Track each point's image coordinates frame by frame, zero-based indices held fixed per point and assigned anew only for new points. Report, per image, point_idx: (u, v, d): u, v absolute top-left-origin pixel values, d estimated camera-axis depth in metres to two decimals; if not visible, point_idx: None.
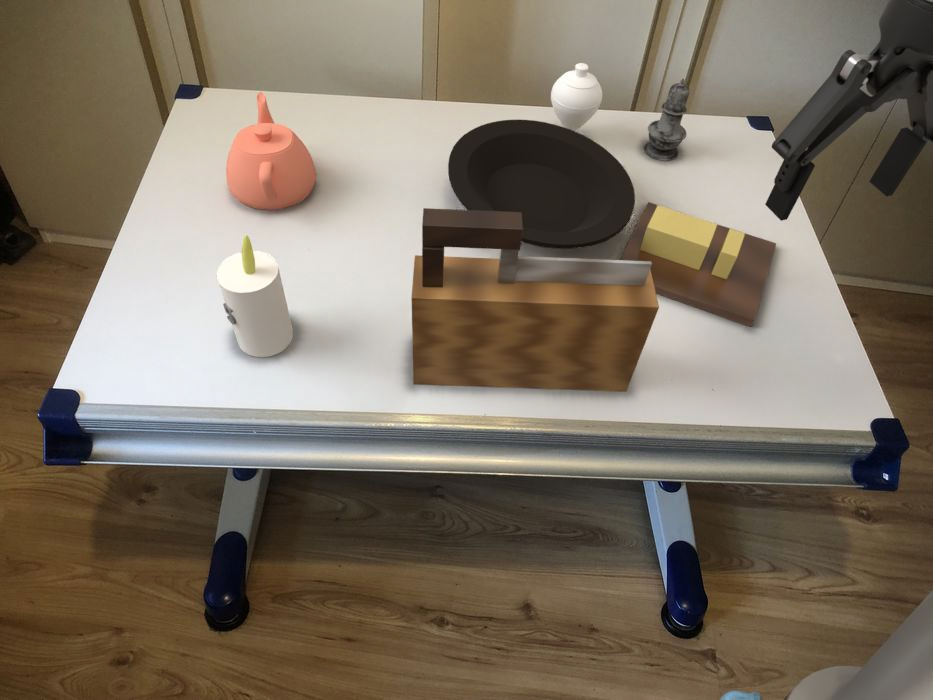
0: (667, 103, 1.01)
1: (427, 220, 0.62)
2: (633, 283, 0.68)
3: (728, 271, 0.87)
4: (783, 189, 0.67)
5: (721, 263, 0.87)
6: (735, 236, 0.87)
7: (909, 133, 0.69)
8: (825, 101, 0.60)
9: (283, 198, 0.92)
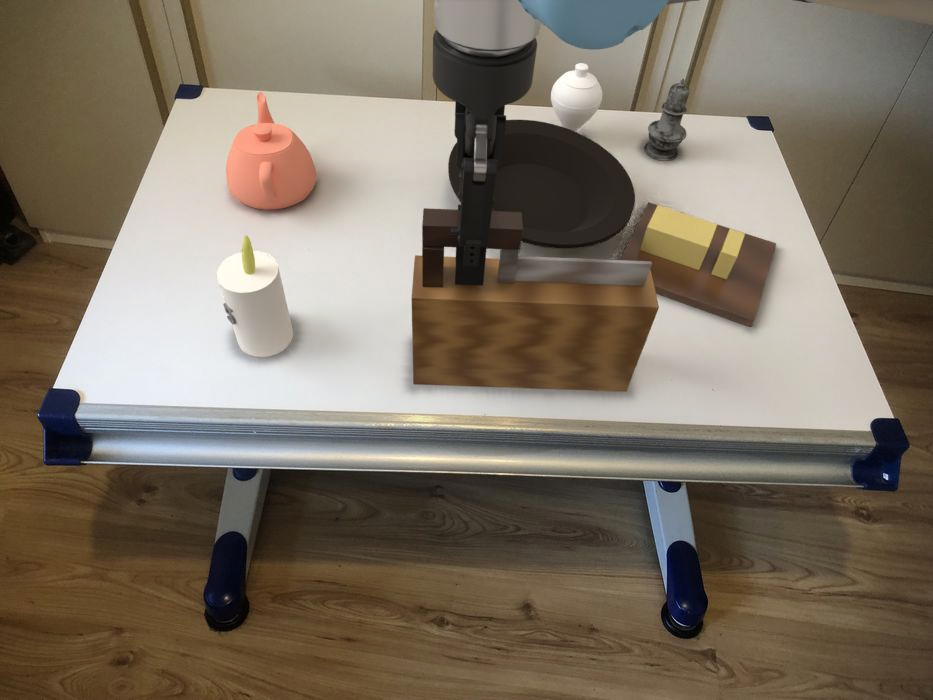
0: (667, 103, 1.01)
1: (427, 220, 0.62)
2: (633, 283, 0.68)
3: (728, 271, 0.87)
4: (478, 265, 0.62)
5: (721, 263, 0.87)
6: (735, 236, 0.87)
7: None
8: (480, 201, 0.54)
9: (283, 198, 0.92)
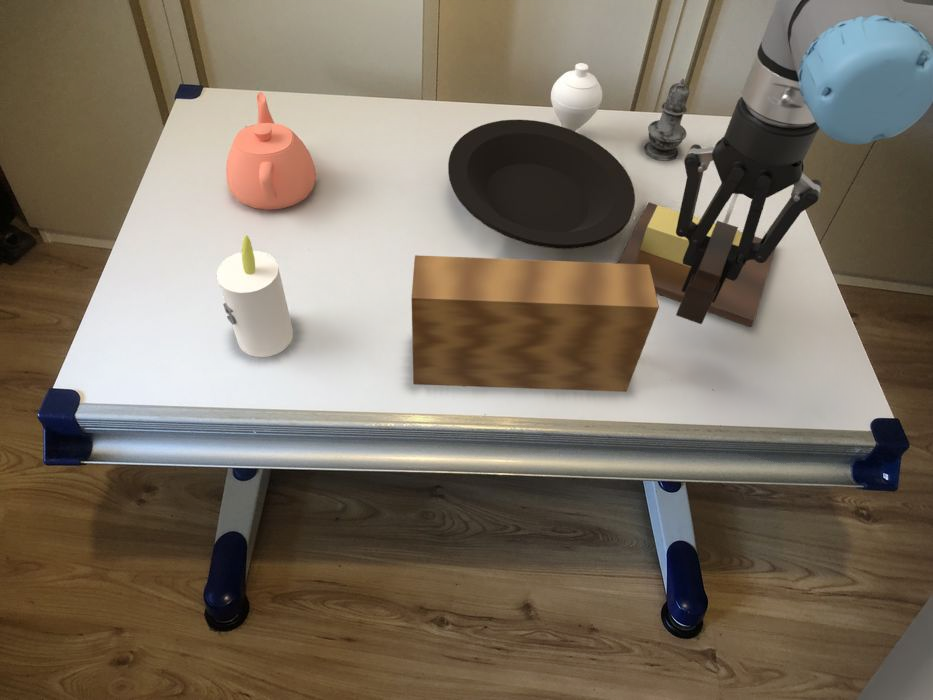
0: (667, 103, 1.01)
1: (715, 271, 0.73)
2: None
3: None
4: None
5: None
6: (735, 236, 0.87)
7: (705, 245, 0.75)
8: None
9: (283, 198, 0.92)
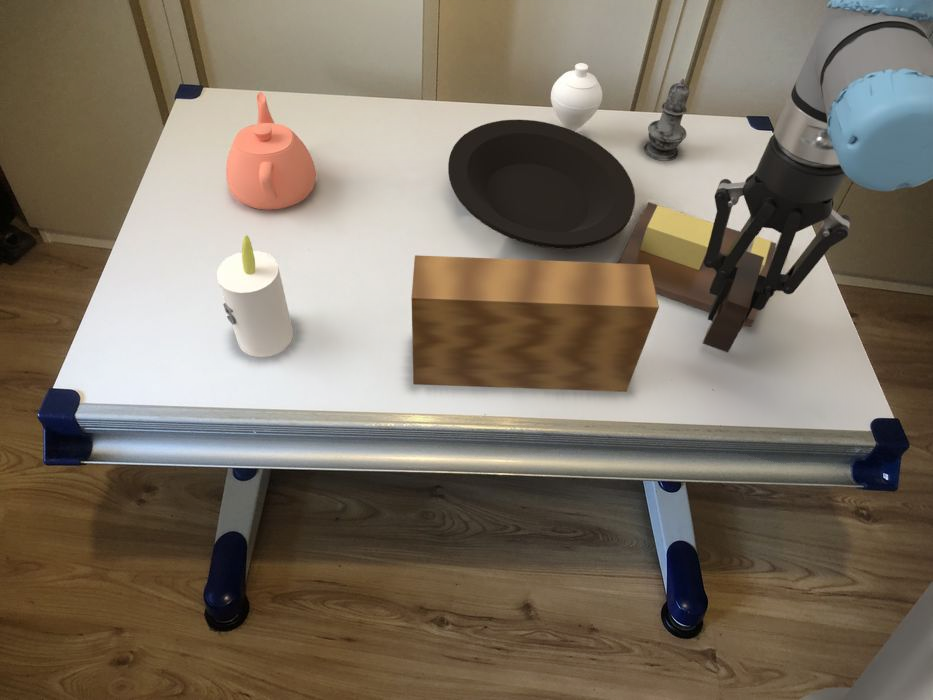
0: (667, 103, 1.01)
1: (743, 303, 0.74)
2: None
3: None
4: None
5: None
6: (762, 244, 0.87)
7: (732, 276, 0.76)
8: None
9: (283, 198, 0.92)
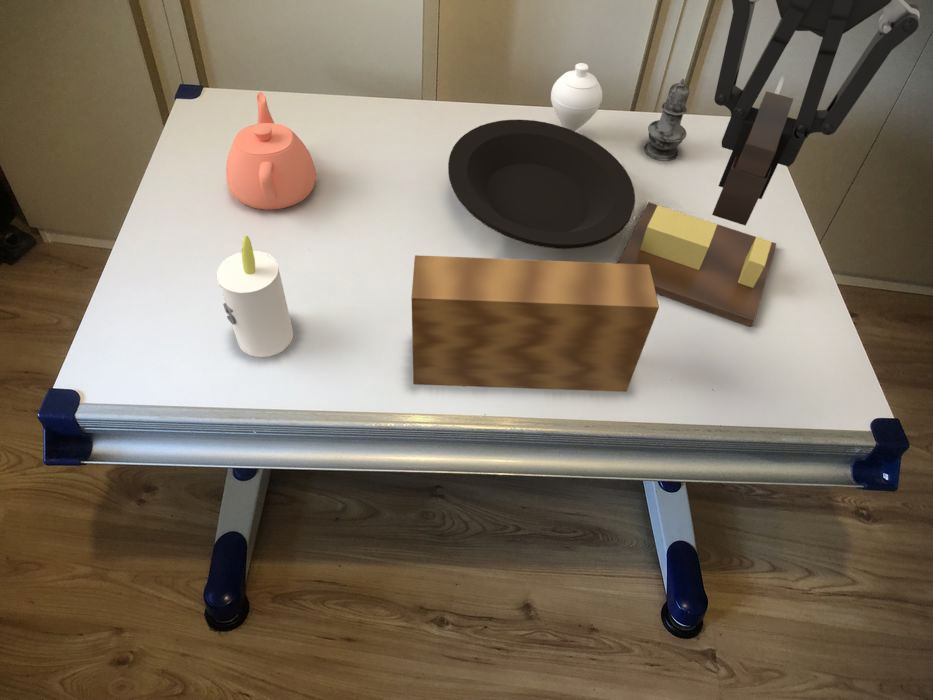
0: (667, 103, 1.01)
1: (767, 146, 0.55)
2: None
3: (755, 280, 0.86)
4: None
5: (748, 272, 0.86)
6: (762, 244, 0.87)
7: (752, 118, 0.57)
8: None
9: (283, 198, 0.92)
